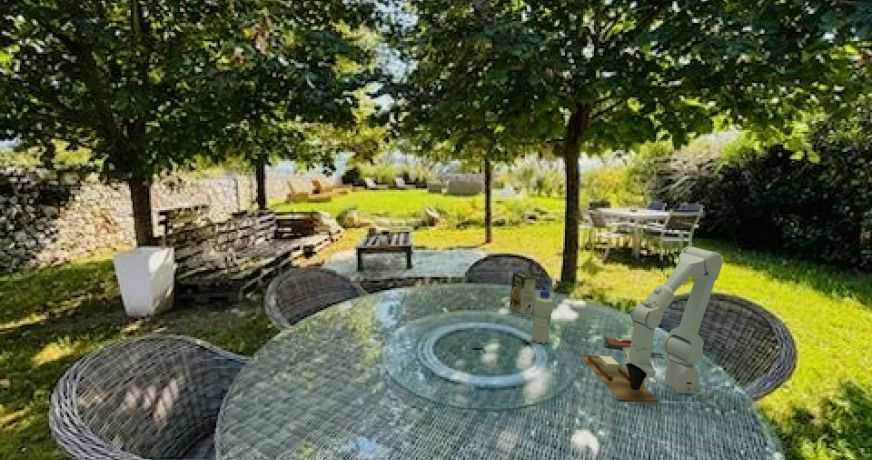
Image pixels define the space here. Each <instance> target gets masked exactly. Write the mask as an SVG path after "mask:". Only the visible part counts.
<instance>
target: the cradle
mask: <svg viewBox="0 0 872 460" xmlns="http://www.w3.org/2000/svg"><path fill="white" fill-rule="evenodd" d="M578 356H579V358H580V359H581V360H582V361H583V362H584V363H585V364H586V365H587V367H589V369H590V370H591V371H592V372H593V373H594V374H595V375H596V376H597V377H598V379H599V380H601V382H603V384H604V385H605V387H607V388H608V390H610V391H611V393H613V395H614V396H615V397H616V398H617V399H616V400H617V401H618V402H619V403H654V404H655V403H659V399H658V398H657V397H656V396H655V395H654V394H652V392H650V391H649V389H647V388H646V387H645V386H644V388H643V391H639V390H632V389H631V387H630V379H629V373H628V369H626V368H625V367H623V366H622V364H620V363H619V362H618V361H617V360H616V359H615V358H614V357H613V356H612V355H611V357H612V358H613V359H614V360H615V361H616V362H617V363H618V364H619V368H618V373H609V372H608V371H607V370H606V369H605V368H604V367H603V366H602V365H601V364H600V363H599V362H598V361H599V356H600V355H592V354H588V355H586V354H585V355H583V354H582V355H578Z"/></svg>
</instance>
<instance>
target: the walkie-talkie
mask: <svg viewBox="0 0 872 460" xmlns="http://www.w3.org/2000/svg"><path fill="white" fill-rule="evenodd" d="M631 340H632V337H625V336H624V337H621V338H618V337H614V338H611V337H605V339H604V348H606V349H610V350H618V351H619V350H620V351H623V352H624V350H630V347H631ZM651 356H658V357H659V356H661V357H663V356H664V354H663V353H660V352H652V351H651Z"/></svg>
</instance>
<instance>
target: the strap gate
mask: <svg viewBox="0 0 872 460" xmlns="http://www.w3.org/2000/svg"><path fill="white" fill-rule="evenodd" d="M644 387H645V380H644V381H643V383H642V385H641V387H640V389H639V391H643V388H644Z"/></svg>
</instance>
